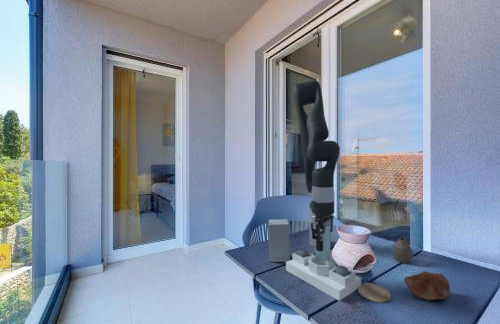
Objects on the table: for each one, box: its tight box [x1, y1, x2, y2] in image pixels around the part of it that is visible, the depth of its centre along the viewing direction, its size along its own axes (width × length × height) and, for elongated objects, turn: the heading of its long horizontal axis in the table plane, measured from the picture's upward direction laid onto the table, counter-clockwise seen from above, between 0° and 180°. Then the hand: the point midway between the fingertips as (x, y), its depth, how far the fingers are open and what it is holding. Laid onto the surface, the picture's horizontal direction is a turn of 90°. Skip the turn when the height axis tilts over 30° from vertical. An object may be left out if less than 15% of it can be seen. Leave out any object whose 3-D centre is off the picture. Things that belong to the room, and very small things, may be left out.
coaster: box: [357, 282, 392, 303], centre depth 70 cm, size 9×9×1 cm
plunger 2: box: [336, 265, 349, 277], centre depth 72 cm, size 4×4×3 cm
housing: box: [285, 251, 362, 302], centre depth 79 cm, size 12×22×6 cm, turn 35°
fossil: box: [404, 271, 451, 302], centre depth 69 cm, size 13×8×10 cm
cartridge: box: [315, 221, 331, 261], centre depth 78 cm, size 5×5×13 cm
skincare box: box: [268, 218, 291, 263], centre depth 93 cm, size 8×7×16 cm
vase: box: [391, 238, 414, 264], centre depth 91 cm, size 7×7×9 cm
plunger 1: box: [297, 248, 309, 258], centre depth 85 cm, size 4×4×3 cm
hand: (322, 247), depth 78 cm, fingers closed on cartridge, 5 cm apart
